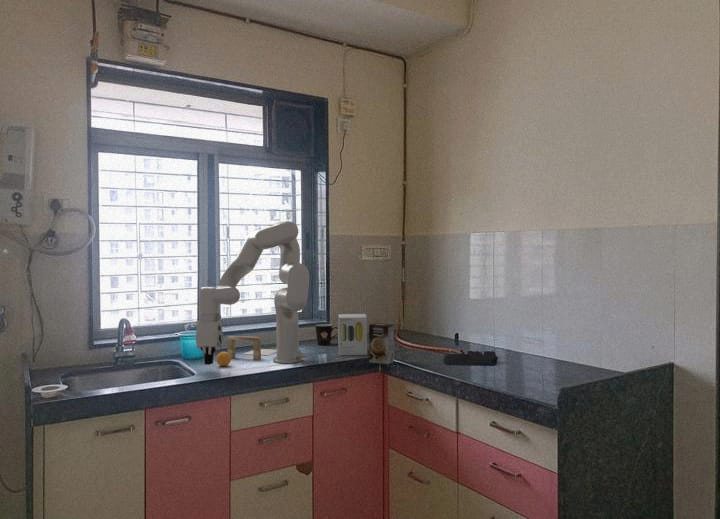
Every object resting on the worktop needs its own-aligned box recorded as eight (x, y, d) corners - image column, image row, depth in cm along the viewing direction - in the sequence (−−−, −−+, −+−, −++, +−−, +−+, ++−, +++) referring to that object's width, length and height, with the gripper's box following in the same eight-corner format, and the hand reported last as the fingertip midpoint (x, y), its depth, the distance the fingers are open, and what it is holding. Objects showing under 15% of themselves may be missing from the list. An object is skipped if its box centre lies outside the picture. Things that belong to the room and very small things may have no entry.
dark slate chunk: (442, 359, 227) (442, 348, 227) (494, 359, 225) (494, 348, 225) (444, 366, 212) (444, 355, 212) (499, 367, 210) (499, 355, 209)
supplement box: (338, 355, 235) (337, 317, 235) (338, 350, 249) (338, 314, 248) (367, 355, 236) (367, 316, 236) (366, 350, 249) (365, 313, 249)
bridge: (231, 357, 235) (231, 335, 235) (260, 358, 230) (260, 337, 230) (227, 358, 232) (227, 336, 232) (257, 360, 227) (257, 338, 227)
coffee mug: (312, 345, 262) (312, 326, 262) (319, 343, 271) (318, 323, 270) (334, 346, 259) (334, 326, 259) (340, 343, 267) (340, 324, 267)
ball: (234, 365, 218) (233, 350, 218) (225, 368, 212) (225, 353, 212) (221, 364, 220) (221, 350, 220) (213, 367, 214) (213, 352, 214)
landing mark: (280, 350, 250) (280, 350, 250) (267, 355, 238) (267, 355, 238) (256, 349, 254) (256, 348, 254) (242, 354, 242) (242, 353, 242)
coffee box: (368, 362, 219) (368, 324, 219) (375, 359, 225) (374, 322, 225) (388, 364, 215) (387, 325, 215) (394, 361, 221) (394, 323, 221)
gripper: (230, 317, 208) (230, 363, 208) (198, 316, 212) (198, 361, 212) (219, 319, 201) (219, 367, 201) (187, 318, 205) (187, 364, 205)
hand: (208, 363), depth 206 cm, fingers closed
